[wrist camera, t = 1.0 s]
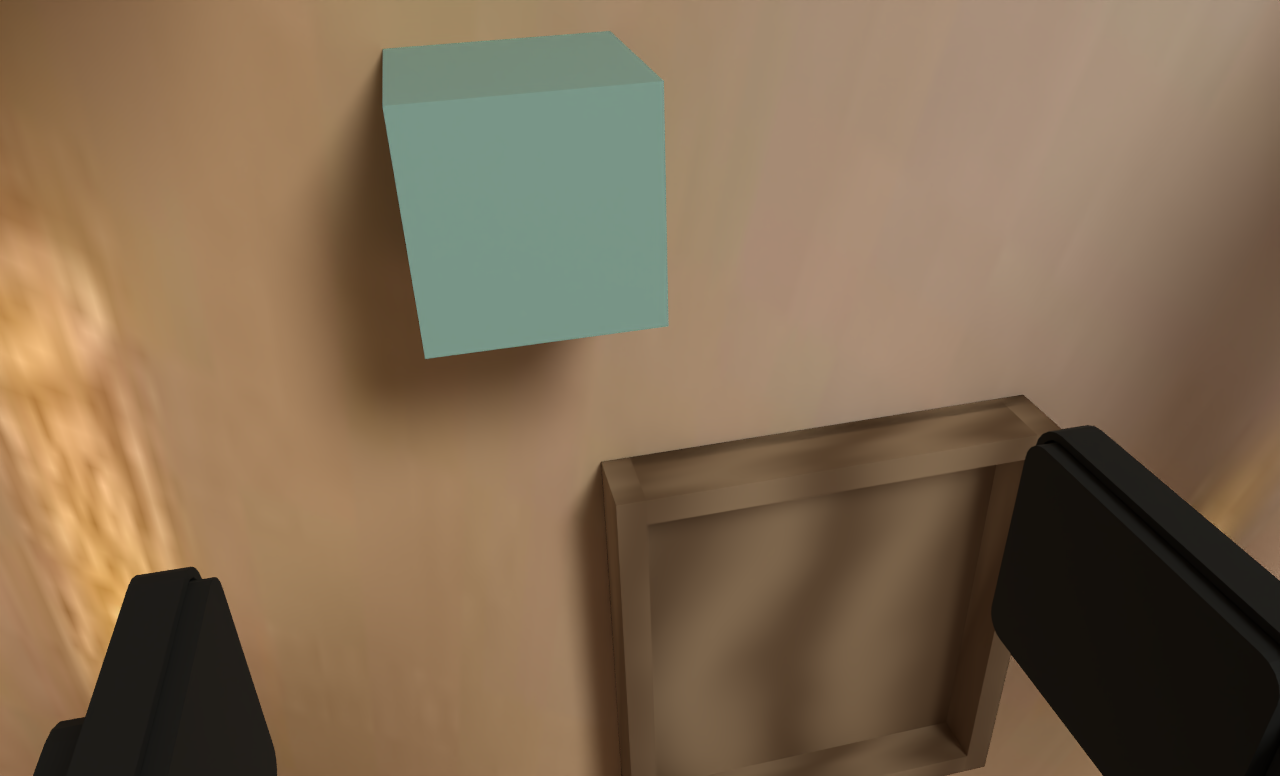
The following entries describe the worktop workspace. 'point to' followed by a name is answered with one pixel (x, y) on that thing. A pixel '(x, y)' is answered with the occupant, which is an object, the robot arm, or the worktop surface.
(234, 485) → the worktop surface
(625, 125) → the teal cube
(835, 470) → the walnut tray
